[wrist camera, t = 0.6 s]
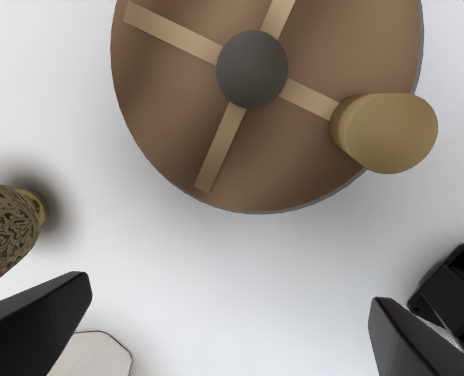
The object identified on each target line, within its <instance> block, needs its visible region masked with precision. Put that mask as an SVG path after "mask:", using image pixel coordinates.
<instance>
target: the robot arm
mask: <svg viewBox="0 0 464 376" xmlns="http://www.w3.org/2000/svg"><path fill="white" fill-rule="evenodd" d="M91 301H92V290H91V286H90V281H89V277H88V275H87V273H85V272H80V271H71V272H69V273H66V274H64V275H61V276H59V277H57V278H54V279H52V280H49V281H47V282H44V283H42V284H40V285H37V286H35V287H32V288H30V289H28V290H25V291H23V292H20V293H18V294H16V295H13V296H11V297H8V298H6V299H3V300H1V301H0V376H47V374H48V373H49V372H50V370H51V369H52V367H53V366H54V364H55V363H56V361H57V360H58V358H59V357H60V355H61V354H62V352H63V350H64V349H65V347H66V345H67V344H68V342H69V340H70V339H71V337H72V335H73V333H74V332H75V330H76V328H77V326H78V325H79V323H80V321H81V319H82V318H83V316H84V314H85V312H86V311H87V309H88V307H89V305H90V303H91ZM415 306H417V307H415ZM407 307H408V309H409V310H410V312H411V313H410V312H409V311H408V310H407V309H405V308H404V307H403V306H401V305H400V304H399V303H397V302H396V301H395V300H393V299H392V298H387V297H374V298H373V299H372V302H371V308H370V314H369V320H368V330H369V335H370V339H371V343H372V348H373V352H374V356H375V360H376V364H377V368H378V372H379V376H464V353H463V352H464V245H462V246H460V247H459V248H458V249H457V250H456V251H455V252H454V253H453V254H452V255H451V256H450V258H449V259H448V260H447V261H446V262H445V263H444V264H443V265H442V266H441V267H440V268H439V269H438V271H437V272H436V273H435V274H434V275H433V276H432V277H431V278H430V279H429V280H428V281H427V283H426V284H425V285H424V286H423V287H422V288H421V289H420V290H419V291H418V292H417V293H416V295H415V296H414V297H413V298H412V299H411V300H410V301H409V302H408V304H407ZM414 307H415V308H414ZM412 313H413V314H415V315H417V316H419V317H421V318H423V319H425V320H427V321H430V322H432V323H434V324H436V325H438V326H440V327H442V328H444V329H446V330H447V331H448V332H449V334H450V335H451V336H452V338H453V339H454V340H455V342H456V343H457V344H458V346H459V347H460V348H461V350H462V351H463V352H461V351H460V350H459V349H457V348H456V347H455V346H454V345H452V344H451V343H450V342H448V341H447V340H446V339H444V338H443V337H442V336H440V335H439V334H438V333H437V332H435V331H434V330H433V329H431V328H430V327H429V326H427V325H426V324H425V323H424V322H422V321H421V320H420V319H418V318H417V317H416V316H414V315H413V314H412Z"/></svg>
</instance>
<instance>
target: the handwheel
mask: <svg viewBox="0 0 464 376" xmlns="http://www.w3.org/2000/svg"><path fill="white" fill-rule="evenodd" d="M419 51H420V18H419V7H418V1H417V0H117V3H116V6H115V12H114V17H113V23H112V30H111V46H110V52H111V70H112V76H113V82H114V89H115V92H116V96H117V99H118V103H119V107H120V109H121V112H122V114H123V117H124V119H125V122H126V124H127V126H128V128H129V130H130V132H131V134H132V136H133V138H134V139H135V141H136V143H137V144H138V146H139V147H140V149H141V150H142V151H143V153H144V154H145V156H146V157H147V158H148V159H149V160H150V161H151V163H152V164H153V165H154V166H155V167H156V168H157V169H158V170H159V171H160V172H161V173H162V174H163V175H164V176H165V177H166V178H168V179H169V180H170V181H171V182H173V183H174V184H175V185H177V186H178V187H180V188H181V189H182V190H184V191H186V192H188V193H189V194H191V195H193V196H195V197H197V198H199V199H201V200H204V201H206V202H208V203H211V204H213V205H217V206H221V207H224V208H228V209H234V210H241V211H256V212H264V211H275V210H282V209H287V208H291V207H296V206H299V205H302V204H305V203H308V202H311V201H314V200H316V199H318V198H320V197H322V196H324V195H326V194H328V193H330V192H332V191H333V190H335V189H336V188H338V187H340V186H341V185H343V184H344V183H346V182H347V181H348V180H350V179H351V178H352V177H353V176H354V175H356V174H357V173H358V172H359V171H361V170H362V169H363V168H364V167H365V168H367V169H369V170H371V171H373V172H376V173H381V174H394V173H399V172H403V171H405V170H408V169H410V168H412V167H414V166H415V165H417V164H418V163H419V162H421V161H422V160H423V159H424V158H425V157H426V156H427V154H428V153H429V152H430V150H431V149H432V147H433V145H434V143H435V140H436V138H437V133H438V121H437V117H436V115H435V112H434V110H433V109H432V107H431V106H430V105H429V104H428V103H427V102H426V101H425V100H423V99H422V98H420V97H418V96H415V95H412V94H410V93H411V89H412V86H413V83H414V79H415V76H416V70H417V64H418V58H419Z"/></svg>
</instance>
